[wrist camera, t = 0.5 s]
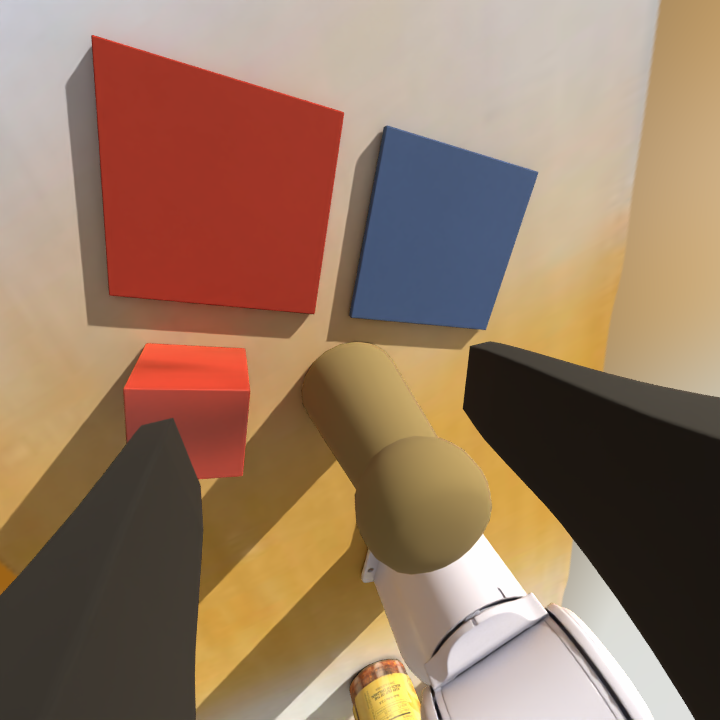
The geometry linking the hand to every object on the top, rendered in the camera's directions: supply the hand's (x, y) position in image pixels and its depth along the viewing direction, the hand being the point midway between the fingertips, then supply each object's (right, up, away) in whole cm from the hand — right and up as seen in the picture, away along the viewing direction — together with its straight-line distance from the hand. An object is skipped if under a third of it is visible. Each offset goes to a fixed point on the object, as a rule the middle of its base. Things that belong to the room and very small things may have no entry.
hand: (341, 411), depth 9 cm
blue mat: (+5, +8, +11) cm, 14 cm away
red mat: (-5, +8, +7) cm, 12 cm away
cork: (0, 0, +13) cm, 13 cm away
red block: (-8, 0, +10) cm, 13 cm away
